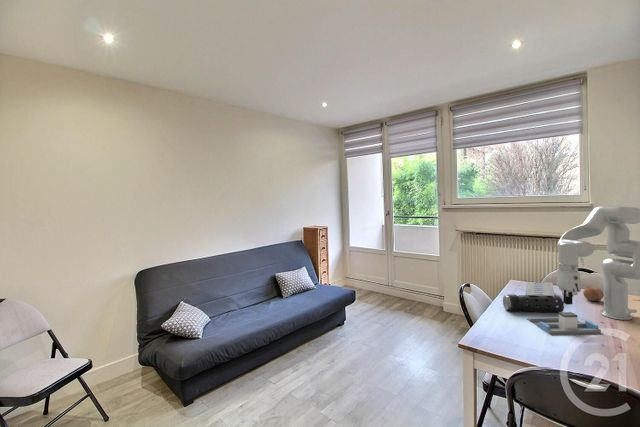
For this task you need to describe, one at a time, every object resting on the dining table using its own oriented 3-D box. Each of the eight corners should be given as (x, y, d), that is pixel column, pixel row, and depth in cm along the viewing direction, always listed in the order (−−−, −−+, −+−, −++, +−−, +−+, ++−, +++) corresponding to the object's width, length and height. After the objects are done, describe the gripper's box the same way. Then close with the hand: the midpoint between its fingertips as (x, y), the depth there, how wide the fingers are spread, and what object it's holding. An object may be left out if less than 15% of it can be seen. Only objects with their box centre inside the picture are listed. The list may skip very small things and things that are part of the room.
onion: (585, 303, 192) (578, 287, 196) (603, 301, 189) (596, 285, 193) (590, 303, 184) (582, 286, 188) (609, 300, 181) (601, 283, 185)
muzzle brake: (564, 316, 168) (564, 298, 167) (508, 315, 174) (508, 297, 173) (554, 310, 177) (554, 293, 177) (502, 308, 183) (502, 292, 182)
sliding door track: (571, 319, 164) (571, 312, 163) (604, 336, 144) (604, 328, 144) (526, 320, 165) (526, 313, 165) (552, 337, 145) (552, 329, 145)
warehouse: (526, 290, 214) (526, 280, 214) (552, 293, 206) (552, 282, 205) (525, 303, 190) (525, 291, 190) (554, 307, 182) (554, 295, 181)
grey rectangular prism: (571, 327, 153) (571, 312, 152) (577, 331, 149) (577, 315, 148) (558, 327, 153) (558, 312, 153) (564, 331, 149) (564, 315, 149)
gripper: (588, 270, 141) (588, 309, 142) (564, 263, 156) (564, 298, 157) (571, 271, 142) (571, 309, 143) (549, 264, 157) (549, 298, 158)
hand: (567, 303), depth 150 cm, fingers closed
